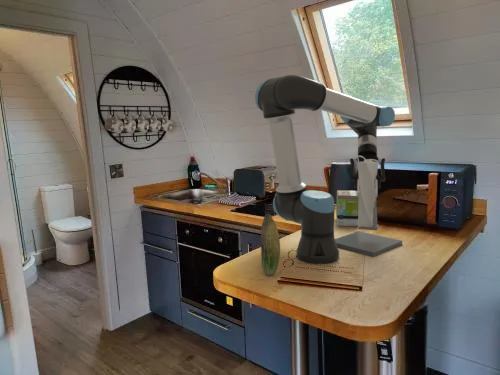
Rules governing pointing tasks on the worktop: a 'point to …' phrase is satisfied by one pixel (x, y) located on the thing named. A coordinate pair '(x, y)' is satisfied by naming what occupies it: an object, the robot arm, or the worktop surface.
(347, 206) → the tea box
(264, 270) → the vegetable
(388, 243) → the charcoal board
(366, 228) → the skyscraper
